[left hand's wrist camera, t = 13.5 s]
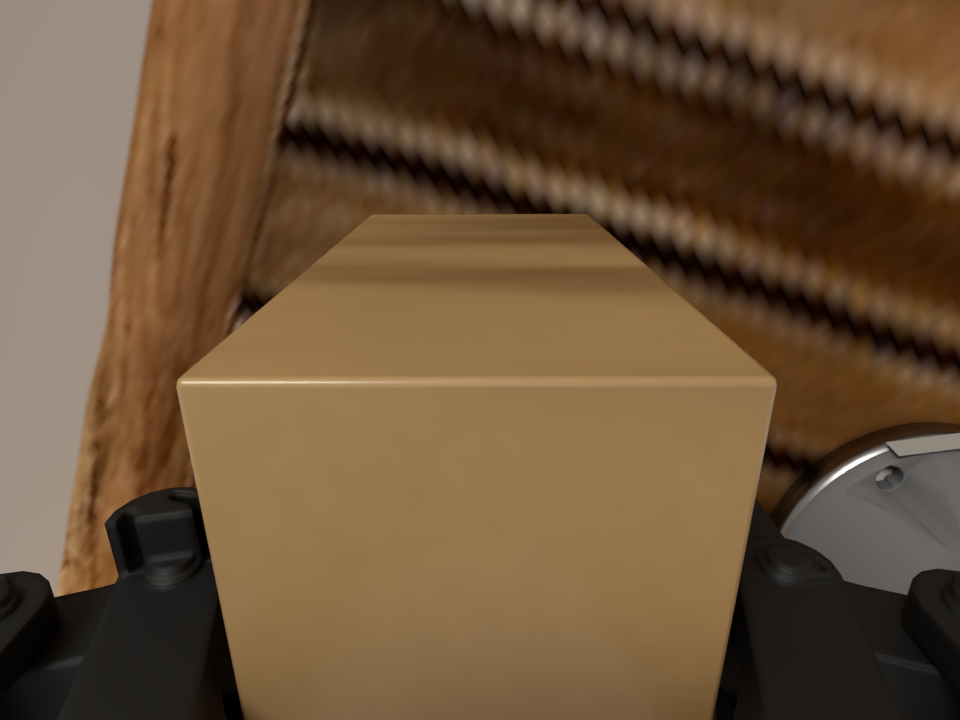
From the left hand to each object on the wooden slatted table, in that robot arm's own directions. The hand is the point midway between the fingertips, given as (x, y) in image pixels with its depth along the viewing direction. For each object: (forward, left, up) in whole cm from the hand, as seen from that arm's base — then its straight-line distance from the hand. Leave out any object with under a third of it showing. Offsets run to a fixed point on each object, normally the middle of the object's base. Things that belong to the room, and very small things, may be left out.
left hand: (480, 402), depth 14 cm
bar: (-2, +7, -1) cm, 7 cm away
